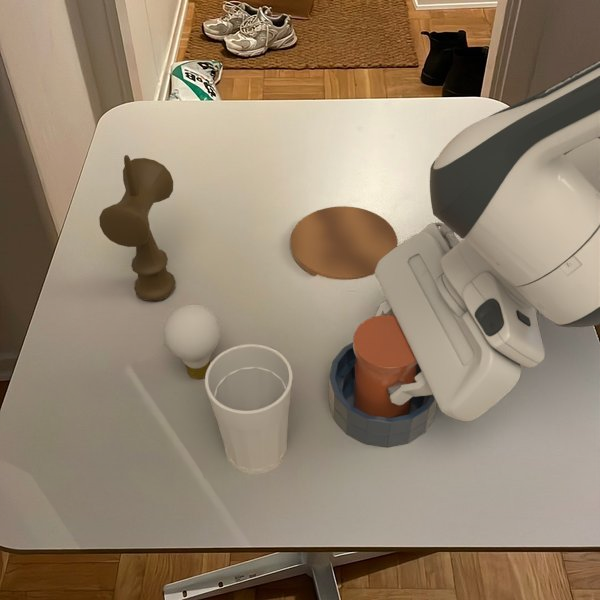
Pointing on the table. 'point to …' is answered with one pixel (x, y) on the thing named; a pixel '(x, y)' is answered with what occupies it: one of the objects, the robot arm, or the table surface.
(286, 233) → the table surface
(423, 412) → the bowl
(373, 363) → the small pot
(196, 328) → the light bulb
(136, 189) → the kendama
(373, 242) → the disc
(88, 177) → the table surface
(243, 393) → the cup
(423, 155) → the table surface
